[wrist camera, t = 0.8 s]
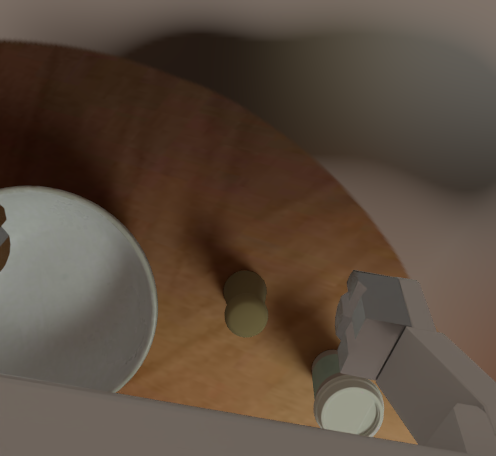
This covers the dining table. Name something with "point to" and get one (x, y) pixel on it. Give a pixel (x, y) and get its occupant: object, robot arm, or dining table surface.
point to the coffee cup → (344, 398)
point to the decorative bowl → (72, 292)
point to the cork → (245, 303)
